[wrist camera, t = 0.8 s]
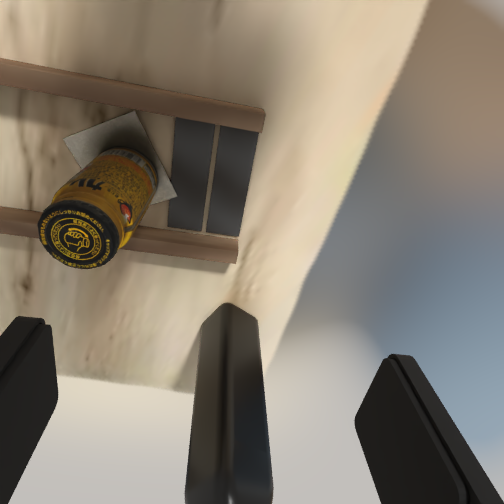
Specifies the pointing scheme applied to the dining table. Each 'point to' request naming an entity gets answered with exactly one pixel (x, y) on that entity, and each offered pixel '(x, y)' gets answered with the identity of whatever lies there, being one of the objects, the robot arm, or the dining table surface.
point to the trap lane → (183, 165)
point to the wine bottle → (229, 415)
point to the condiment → (104, 193)
